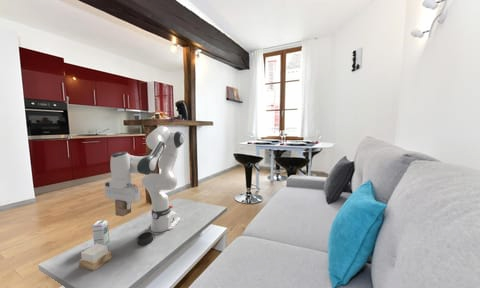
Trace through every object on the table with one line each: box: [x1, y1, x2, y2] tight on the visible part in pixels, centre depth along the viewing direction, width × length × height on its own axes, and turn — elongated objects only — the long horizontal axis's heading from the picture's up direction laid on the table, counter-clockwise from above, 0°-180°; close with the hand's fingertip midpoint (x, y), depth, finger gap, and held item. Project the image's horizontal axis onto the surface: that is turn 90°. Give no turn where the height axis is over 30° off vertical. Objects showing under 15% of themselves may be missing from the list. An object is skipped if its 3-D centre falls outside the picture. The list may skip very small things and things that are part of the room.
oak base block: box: [78, 250, 113, 271], centre depth 102 cm, size 10×10×4 cm
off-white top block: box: [80, 244, 109, 263], centre depth 102 cm, size 8×8×4 cm
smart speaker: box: [137, 231, 154, 246], centre depth 121 cm, size 9×9×4 cm
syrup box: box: [91, 219, 110, 246], centre depth 117 cm, size 6×6×14 cm
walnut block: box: [114, 200, 132, 217], centre depth 102 cm, size 5×5×8 cm
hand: (123, 208), depth 102 cm, fingers closed on walnut block, 5 cm apart
